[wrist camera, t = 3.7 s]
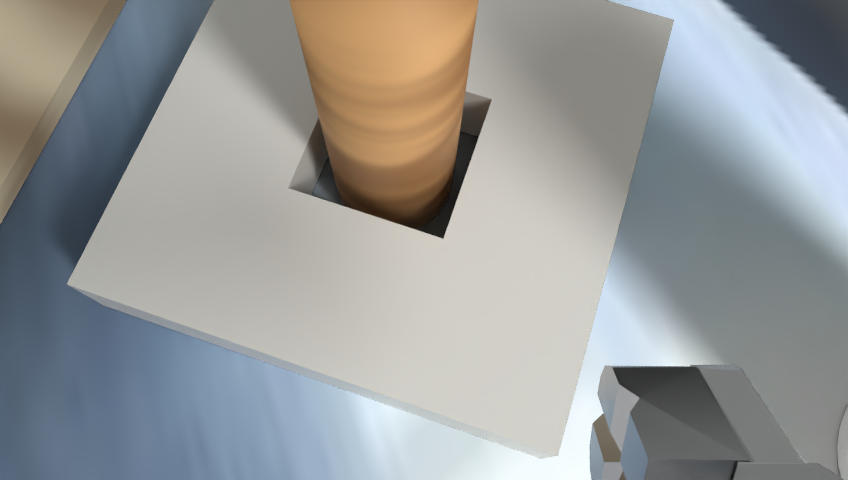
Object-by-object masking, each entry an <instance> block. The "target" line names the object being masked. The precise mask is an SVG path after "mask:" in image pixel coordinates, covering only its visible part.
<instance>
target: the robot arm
mask: <svg viewBox="0 0 848 480" xmlns="http://www.w3.org/2000/svg"><path fill="white" fill-rule="evenodd" d="M598 397H599V400H600V403H601V406H602V409H603V412H604V413H603V414H602V415H601V416H600V417H599V418H598V419H597V420H596V421H595V422H594V423H593V425H592V432H591V440H590V472H591V479H592V480H844V479H842V478H841V477H839V476H837V475H836V474H834V473H833V472H831V471H829V470H828V469H826V468H825V467H823V466H821V465H820V464H810V463H804V462H803V461H802V459H801V458H800V456H799V455H798V453H797V452H796V450H795V449H794V447H793V446H792V444H791V443H790V441H789V440H788V438H787V437H786V435H785V434H784V432H783V431H782V429H781V428H780V426H779V425H778V423H777V422H776V420H775V419H774V417H773V416H772V414H771V413H770V411H769V410H768V408H767V407H766V405H765V404H764V402H763V401H762V399H761V398H760V396H759V395H758V393H757V392H756V390H755V389H754V387H753V386H752V384H751V383H750V381H749V380H748V378H747V377H746V375H745V374H744V372H743V371H742V369H740V368H738V367H737V366H735V365H691V366H690V367H685V366H605V367H604V369H603V372H602V374H601V377H600V383H599V388H598Z"/></svg>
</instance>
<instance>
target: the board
mask: <svg viewBox="0 0 848 480" xmlns="http://www.w3.org/2000/svg"><path fill="white" fill-rule="evenodd" d="M126 1H127V0H0V224H1V222H2V221H3V219H4V217H5V215H6V213H7V212H8V210H9V208H10V206H11V205H12V203H13V201H14V199H15V198H16V196H17V194H18V192H19V190H20V189H21V187H22V185H23V183H24V182H25V180H26V178H27V176H28V175H29V173H30V171H31V169H32V167H33V166H34V164H35V162H36V160H37V159H38V157H39V155H40V153H41V152H42V150H43V148H44V146H45V144H46V143H47V141H48V139H49V137H50V136H51V134H52V132H53V130H54V129H55V127H56V125H57V123H58V121H59V120H60V118H61V116H62V114H63V113H64V111H65V109H66V107H67V106H68V104H69V102H70V100H71V98H72V97H73V95H74V93H75V91H76V90H77V88H78V86H79V84H80V83H81V81H82V79H83V77H84V75H85V74H86V72H87V70H88V68H89V67H90V65H91V63H92V61H93V60H94V58H95V56H96V54H97V52H98V51H99V49H100V47H101V45H102V44H103V42H104V40H105V38H106V37H107V35H108V33H109V31H110V29H111V28H112V26H113V24H114V22H115V21H116V19H117V17H118V15H119V14H120V12H121V10H122V8H123V6H124V5H125V3H126Z"/></svg>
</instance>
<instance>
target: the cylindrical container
mask: <svg viewBox="0 0 848 480" xmlns="http://www.w3.org/2000/svg"><path fill="white" fill-rule="evenodd" d="M837 450H838V467H839V472H840V476H841V478H842V479H844V480H848V407H847V408H846V411H845V413H844V416H843V419H842V422H841V424H840V429H839V436H838V443H837Z"/></svg>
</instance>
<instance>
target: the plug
mask: <svg viewBox="0 0 848 480" xmlns="http://www.w3.org/2000/svg"><path fill="white" fill-rule="evenodd" d="M289 1H290V5H291V9H292V13H293V17H294V21H295V25H296V28H297V32H298V36H299V40H300V44H301V48H302V52H303V56H304V60H305V64H306V68H307V72H308V76H309V80H310V84H311V88H312V92H313V96H314V100H315V104H316V108H317V112H318V116H319V120H320V123H321V127H322V131H323V135H324V139H325V143H326V147H327V151H328V155H329V159H330V163H331V167H332V171H333V175H334V179H335V183H336V187H337V191H338V195H339V197H340V200H341V202H342V204H343V206H345V207H348V208H351V209H354V210H357V211H360V212H363V213H366V214H369V215H372V216H375V217H378V218H381V219H385V220H388V221H391V222H394V223H397V224H400V225H403V226H406V227H409V228H412V229H417V228H420V227H422V226H424V225H425V224H427V223H429V222H430V221H431V220H433V219H434V218H435V217H436V216H437V215H438V214H439V213H440V212H441V210H442V209H443V208H444V206H445V205H446V203H447V201H448V198H449V196H450V193H451V189H452V182H453V175H454V168H455V161H456V154H457V147H458V140H459V134H460V127H461V120H462V113H463V106H464V99H465V92H466V85H467V78H468V71H469V64H470V57H471V50H472V43H473V36H474V29H475V22H476V15H477V8H478V1H479V0H289Z"/></svg>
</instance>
